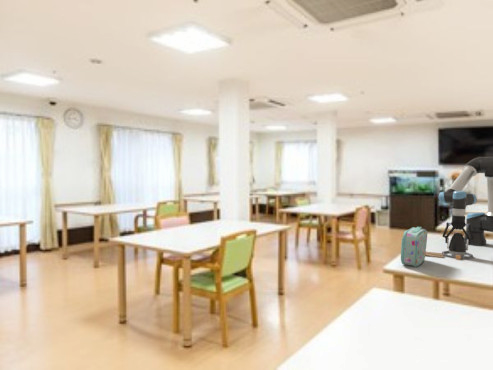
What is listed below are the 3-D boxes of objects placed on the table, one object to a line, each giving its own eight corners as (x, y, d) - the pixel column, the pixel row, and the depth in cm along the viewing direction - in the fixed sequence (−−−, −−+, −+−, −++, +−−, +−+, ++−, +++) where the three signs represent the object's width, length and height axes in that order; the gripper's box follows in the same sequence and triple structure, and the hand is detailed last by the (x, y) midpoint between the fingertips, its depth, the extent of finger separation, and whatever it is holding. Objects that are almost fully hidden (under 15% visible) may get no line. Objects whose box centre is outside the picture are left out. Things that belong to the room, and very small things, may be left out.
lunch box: (409, 257, 250) (410, 223, 248) (427, 259, 244) (428, 225, 242) (398, 266, 228) (399, 229, 227) (417, 269, 222) (418, 231, 221)
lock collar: (441, 250, 267) (441, 247, 267) (471, 253, 260) (471, 250, 260) (442, 258, 248) (442, 254, 247) (474, 261, 240) (474, 257, 240)
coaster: (424, 252, 262) (424, 251, 262) (443, 254, 258) (443, 253, 258) (424, 256, 252) (424, 255, 252) (443, 258, 248) (443, 257, 248)
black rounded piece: (461, 254, 258) (462, 231, 257) (469, 258, 248) (470, 234, 247) (445, 253, 259) (446, 230, 258) (452, 257, 249) (453, 233, 248)
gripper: (439, 214, 254) (437, 248, 255) (480, 217, 244) (478, 252, 245) (438, 213, 260) (437, 246, 262) (478, 215, 251) (477, 249, 252)
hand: (457, 249), depth 253 cm, fingers open, 10 cm apart
